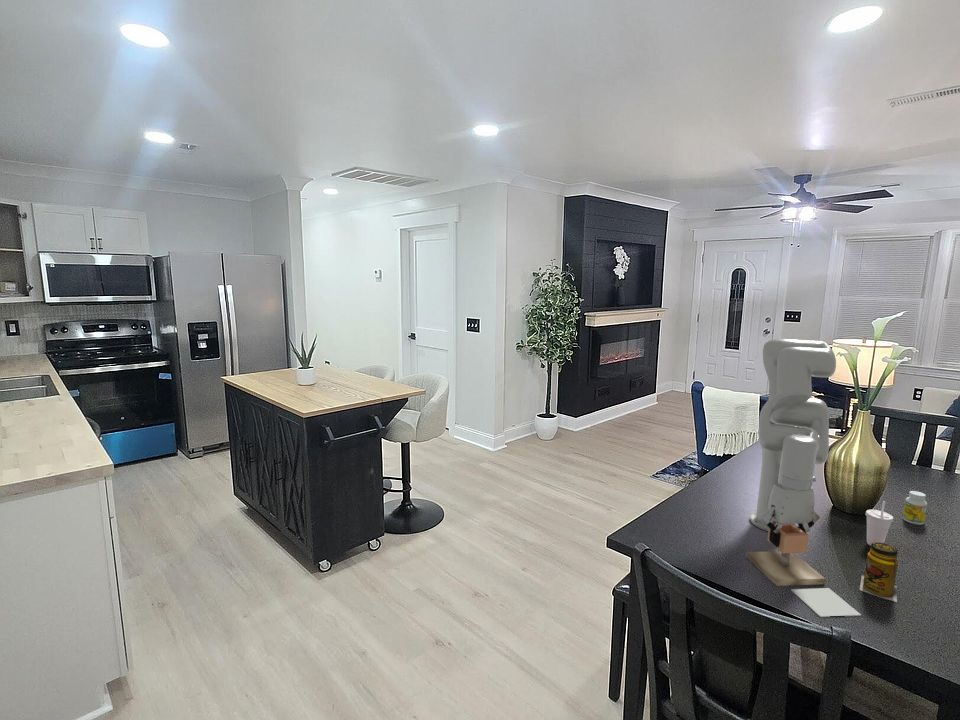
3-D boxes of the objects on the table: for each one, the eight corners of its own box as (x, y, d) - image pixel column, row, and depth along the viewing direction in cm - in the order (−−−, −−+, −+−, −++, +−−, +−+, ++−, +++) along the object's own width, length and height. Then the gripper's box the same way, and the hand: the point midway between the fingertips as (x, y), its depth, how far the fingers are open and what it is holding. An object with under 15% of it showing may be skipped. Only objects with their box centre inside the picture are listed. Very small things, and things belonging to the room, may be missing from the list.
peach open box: (789, 539, 137) (791, 522, 136) (806, 552, 131) (808, 535, 130) (767, 540, 137) (769, 523, 136) (782, 553, 130) (785, 536, 129)
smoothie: (881, 552, 143) (889, 507, 141) (856, 541, 149) (863, 498, 146) (892, 547, 146) (900, 502, 144) (868, 536, 152) (874, 494, 149)
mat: (828, 589, 126) (828, 588, 126) (861, 615, 116) (861, 614, 116) (791, 590, 126) (791, 589, 126) (820, 617, 116) (820, 616, 116)
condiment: (859, 590, 126) (866, 547, 124) (861, 575, 132) (868, 534, 130) (896, 603, 121) (904, 558, 119) (897, 586, 128) (904, 544, 125)
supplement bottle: (927, 523, 160) (932, 495, 159) (917, 526, 159) (922, 498, 157) (909, 515, 165) (913, 488, 164) (898, 518, 164) (902, 491, 162)
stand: (790, 555, 141) (793, 532, 140) (824, 584, 128) (828, 558, 127) (746, 557, 140) (749, 533, 139) (776, 585, 127) (779, 560, 126)
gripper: (816, 474, 134) (807, 534, 138) (754, 476, 133) (747, 537, 137) (837, 486, 127) (827, 550, 130) (772, 488, 126) (764, 553, 129)
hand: (786, 543), depth 133 cm, fingers closed on peach open box, 6 cm apart
